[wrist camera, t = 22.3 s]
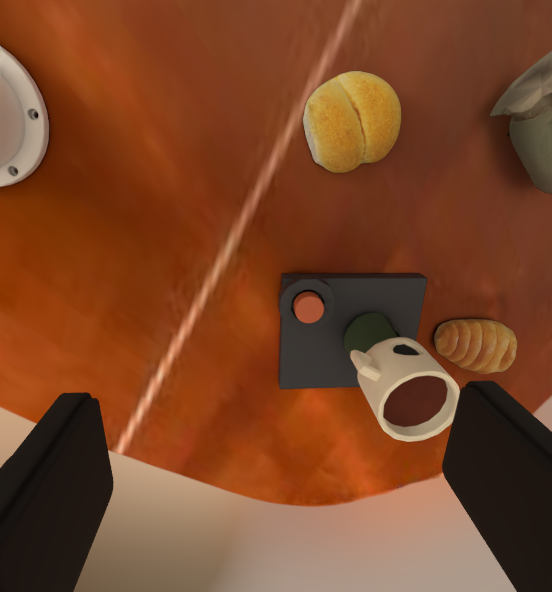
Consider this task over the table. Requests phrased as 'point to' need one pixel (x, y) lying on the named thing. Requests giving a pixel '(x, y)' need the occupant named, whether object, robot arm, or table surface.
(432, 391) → the character mug
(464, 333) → the pastry
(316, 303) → the button
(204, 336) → the table surface
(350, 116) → the bread roll
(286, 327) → the scale
